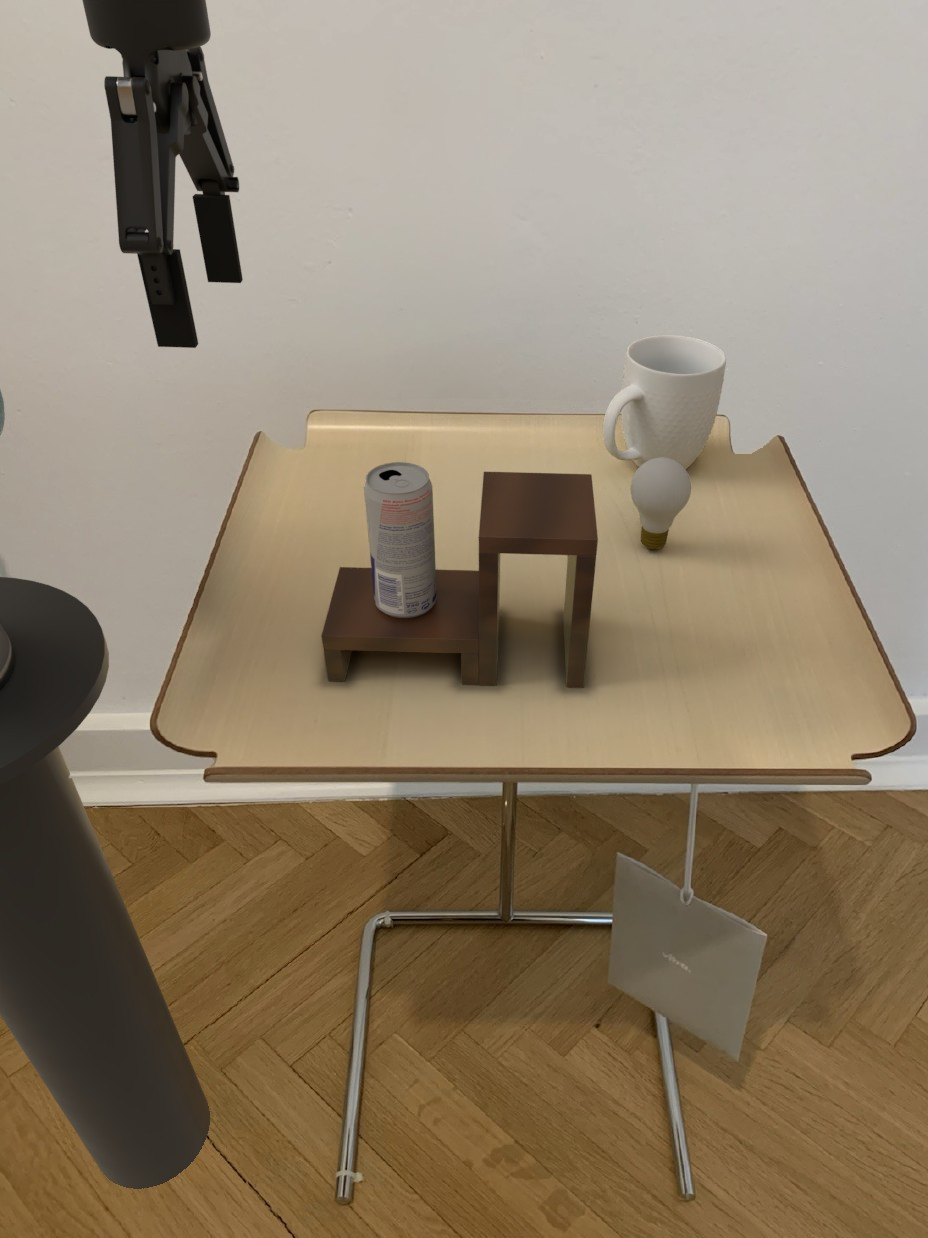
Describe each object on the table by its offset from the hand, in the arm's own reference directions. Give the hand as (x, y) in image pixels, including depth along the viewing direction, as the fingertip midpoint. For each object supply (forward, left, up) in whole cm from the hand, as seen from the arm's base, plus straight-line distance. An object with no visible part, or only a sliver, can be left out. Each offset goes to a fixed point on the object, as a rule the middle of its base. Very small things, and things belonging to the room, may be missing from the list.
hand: (203, 311), depth 73 cm
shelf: (+20, -8, -27) cm, 34 cm away
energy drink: (+15, -8, -22) cm, 28 cm away
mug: (+41, +27, -27) cm, 56 cm away
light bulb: (+39, +9, -27) cm, 48 cm away
